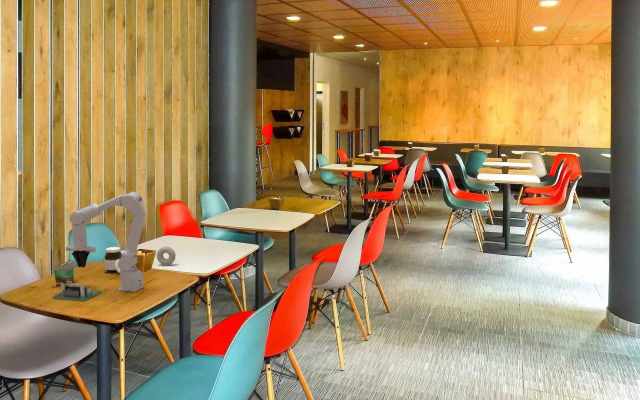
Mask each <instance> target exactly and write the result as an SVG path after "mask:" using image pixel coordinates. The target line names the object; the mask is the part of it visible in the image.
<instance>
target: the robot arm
mask: <svg viewBox="0 0 640 400" xmlns="http://www.w3.org/2000/svg"><path fill="white" fill-rule="evenodd" d="M144 204H145V203H144V199H143V197H142V195H141V194H140V193H139V192H137V191H131V192H129V193H124V194H121V195H118V196H115V197H112V198H111V199H108V200H106V201H105V202H102V203H100V204H98V203H89V204H88V206H86V207H85V206H84V207H83V208H79V209H78V210H76V211H73V212H72V213H71V214H70V215H69V218H68V219H69V222H70V224H71V229H72V231H71V232H72V243H73V245H67V246H65V252H68V251H71V255H72V257H73V258H74V259H75V262H76V265H77V267H78V268H81V269H82V268H85V267H86V265H87V261H88V257H89V256H90V253H96V252H97V249H96V247H95V246H89V245H88V239H87V237H88V235H87V223H86V222H87V221H90V220H93V219H95V218H96V217H99V216H101V214H102V212H103V211H106V210H107V209H110V208H113V207H115V206H118V207H124V209H125V210H127V211H129V212H130V213H131V215H132V221H131V224H130V229H129V232H128V237H127V240H126V243H125V247H124V250H123V252H122V257H121V259H120V260H119V261H118V267H119V269H120V273H119V277H120V287H118V288H116V290H117V291H123V292H137V291H140V290H141V289H143V288H145V287H146V286H145V284H144V274H143V271H142V270H140V269H137V266H136V265H137V264H138V261H139V260H138V259H139V258H138V247H139V246H138V245H139V243H140V240H141V235H142V230H143V226H144V223H145V219H146V214H147V211H146V208H145V205H144ZM72 251H73V252H72Z"/></svg>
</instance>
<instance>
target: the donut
mask: <svg viewBox="0 0 640 400" xmlns="http://www.w3.org/2000/svg"><path fill="white" fill-rule="evenodd" d="M164 254H168V257H167V258H165V257H164ZM156 259H157V261H158V263H159V264H161V265H163V266H169V265H172V264H173V263H174V262H175V260H176V252H175V249H173V248H172V247H170V246H162V247H160V248H159V249H158V250H157V252H156Z"/></svg>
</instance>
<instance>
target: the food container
mask: <svg viewBox="0 0 640 400" xmlns="http://www.w3.org/2000/svg"><path fill="white" fill-rule="evenodd" d="M75 266H76V263H75V261H74V260H73V259H67V261H66V262H62V263H60V264H58V265H53V266H52V271H53V273H54V280H55V286H57V287H61V284H66V283H67V281H72V284H74V282H75V281H74V280H75V279H74V278H75V275H74V274H75V270H74V269H75Z"/></svg>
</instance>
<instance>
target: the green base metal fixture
mask: <svg viewBox="0 0 640 400" xmlns="http://www.w3.org/2000/svg"><path fill="white" fill-rule="evenodd" d="M67 283H69V284H73V283H72V281H67ZM60 291H61V292H59V293H57V294H55V295H53V296H52V299H54V300H55V299H56V300H67V301H74V302H75V301H76V302H86V301H88V300H91V299H93V298H95V297H97V296H99V295H101V294H103V291H102V290H94V289H93V286H92V285H91V287H89V288H84V286H81V287H66V284H61V286H60Z"/></svg>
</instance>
